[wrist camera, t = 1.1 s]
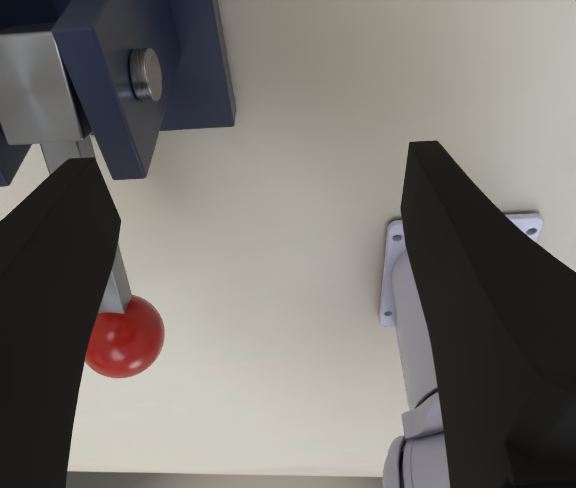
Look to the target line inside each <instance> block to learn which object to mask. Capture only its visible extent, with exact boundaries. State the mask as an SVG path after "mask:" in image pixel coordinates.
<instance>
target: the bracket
mask: <svg viewBox="0 0 576 488" xmlns="http://www.w3.org/2000/svg"><path fill="white" fill-rule="evenodd" d="M49 22H56V23H55V25H54V26H53V28H52V29H51V33H52V35H53V38H54V40H55V43H56V45H57V47H58V50H59V52H60V55H61V57H62V59H63V62H64V64H65V66H66V69H67V71H68V74H69V76H70V78H71V81H72V83H73V86H74V88H75V90H76V93H77V95H78V98H79V100H80V102H81V105H82V107H83V109H84V112H85V114H86V117H87V119H88V121H89V124H90V126H91V129H92V131H93V133H92V134H91V135H94V136H95V138H96V140H97V143H98V145H99V148H100V150H101V152H102V155H103V157H104V160H105V162H106V164H107V167H108V169H109V171H110V174H111V176H112V179H113V180H126V179H143V178H146V176H147V173H148V169H149V166H150V162H151V159H152V155H153V152H154V148H155V145H156V141H157V138H158V134H159V131H168V130H184V129H201V128H217V127H232V126H234V124H235V116H236V107H235V101H234V95H233V89H232V83H231V78H230V72H229V66H228V60H227V54H226V48H225V42H224V36H223V30H222V24H221V19H220V13H219V7H218V1H217V0H0V29H3V28H7V27H10V26H14V25H22V24H36V23H49ZM31 145H32V144H24V145H8V144H7V143H6V141H5V138H4V135H3V132H2V129H1V126H0V187H4V186H9V185H10V183H11V182H12V180H13V178H14V176H15V174H16V173H17V171H18V169H19V167H20V165H21V163H22V162H23V160H24V158H25V156H26V154H27V153H28V151H29V149H30V147H31Z"/></svg>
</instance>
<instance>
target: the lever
mask: <svg viewBox="0 0 576 488" xmlns="http://www.w3.org/2000/svg"><path fill="white" fill-rule="evenodd" d="M55 23H56V22H49V23H36V24H22V25H14V26H10V27H7V28H3V29H0V126H1V129H2V132H3V135H4V138H5V141H6V143H7V144H8V145H24V144H40V146H41V149H42V152H43V155H44V158H45V162H46V165H47V168H48V171H49V174H50V175H51V174H52V173H53V172H54V171H55V170H56V169H57V168H58V167H59V166H61V165H62V164H63V163H64V162H65V161H66V160H68V159H69V158H88V157H95V154H94V150H93V146H92V142H91V139H90V135H91V134H92V133H93V131H92V129H91V126H90V124H89V121H88V119H87V117H86V114H85V112H84V109H83V107H82V105H81V102H80V100H79V98H78V95H77V93H76V90H75V88H74V86H73V83H72V81H71V78H70V76H69V74H68V71H67V69H66V66H65V64H64V62H63V59H62V57H61V55H60V52H59V50H58V47H57V45H56V43H55V40H54V38H53V35H52V33H51V29H52V28H53V26H54V25H55ZM95 159H96V157H95ZM96 162H97V161H96ZM163 343H164V325H163V321H162V319H161V316H160V314H159V313H158V311H157V310H156V309H155V308H154V306H153V305H152V304H150V303H149V302H148V301H146V300H145V299H143V298H141V297H138V296H135V295H132V294H131V290H130V286H129V283H128V279H127V275H126V271H125V267H124V264H123V260H122V256H121V252H120V248H119V245H117V251H116V256H115V260H114V264H113V267H112V270H111V274H110V277H109V280H108V283H107V287H106V290H105V293H104V296H103V299H102V302H101V305H100V308H99V312H98V315H97V318H96V321H95V324H94V327H93V330H92V334H91V337H90V341H89V344H88V348H87V352H86V356H85V362H86V363H87V365H88V366H89V367H90V368H91V369H93V370H94V371H96V372H97V373H99V374H101V375H104V376H107V377H111V378H126V377H131V376H134V375H136V374H139V373H141V372H142V371H144V370H145V369H147V368H148V367H149V366H150V365H151V364H152V363H153V362H154V361H155V360H156V358H157V357H158V355H159V354H160V352H161V349H162V347H163Z"/></svg>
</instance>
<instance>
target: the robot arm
mask: <svg viewBox="0 0 576 488" xmlns="http://www.w3.org/2000/svg"><path fill="white" fill-rule="evenodd" d="M401 216H402V220H396V221H393V222H391V223H390V224H389V225H388V228H387V238H386V249H385V259H384V269H383V280H382V290H381V300H380V310H379V323H380V325H382V326H396V333H397V339H398V345H399V351H400V357H401V363H402V369H403V375H404V381H405V388H406V394H407V400H408V404H409V408H410V410H411V411H408V412H405V413H403V414H402V421H403V428H404V436H399V437H397V438H396V439H394V441H393V442H392V443H391V446H390V448H389V451H388V455H387V458H386V460H385V464H384V469H383V488H576V272H575V271H573V270H572V269H570V268H569V267H567V266H566V265H565V264H563V263H562V262H560V261H559V260H558V259H556V258H555V257H554V256H552V255H551V254H550V253H549V252H547V251H546V250H545V249H543V248H542V247H541V246H540V245H538V244H537V243H536V241H537V239H538V236H539V234H540V232H541V229H542V227H543V224H544V220H543V218H542V216H541V215H540V214H537V213H530V214H510V215H504V214H503V213H502V212H501V211H500V210H499V209H498V208H497V207H496V206H495V205H494V204H493V203H492V202H491V201H490V200H489V199H488V198H487V197H486V195H485V194H484V193H483V192H482V191H481V190H480V189H479V188H478V187H477V186H476V185H475V184H474V183H473V182H472V180H471V179H470V178H469V177H468V176H467V175H466V174H465V172H464V171H463V170H462V169H461V168H460V167H459V165H458V164H457V163H456V162H455V161H454V160H453V158H452V157H451V156H450V155H449V154H448V152H447V151H446V150H445V149H444V148H443V146H442V145H441V144H440V143H439V142H438V141H418V142H409V149H408V157H407V164H406V172H405V179H404V186H403V194H402V201H401ZM120 225H121V219H120V217H119V214H118V212H117V209H116V207H115V205H114V202H113V200H112V198H111V195H110V193H109V190H108V188H107V186H106V183H105V181H104V178H103V176H102V174H101V171H100V169H99V167H98V164H97V162H96V159H95V157H88V158H69V159H68V160H66V161H65V162H64V163H63V164H62V165H61V166H59V167H58V168H57V169H56V170H55V171H54V172H53V173H52V174H51V175H50V176H49V177H47V178H46V179H45V180H44V181H43V182H42V183H41V184H40V185H39V186H38V187H37V188H36V189H35V190H34V191H33V192H32V193H31V194H30V195H28V196H27V197H26V198H25V199H24V200H23V201H22V202H21V203H20V204H19V205H18V206H17V207H16V208H15V209H13V210H12V211H11V212H10V213H9V214H8V215H7V216H6V217H5V218H4V219H2V220H1V221H0V488H65V487H66V477H67V468H68V460H69V453H70V445H71V437H72V430H73V423H74V417H75V411H76V405H77V399H78V393H79V387H80V382H81V377H82V372H83V367H84V362H85V356H86V352H87V348H88V344H89V341H90V337H91V334H92V330H93V327H94V324H95V321H96V318H97V315H98V312H99V308H100V305H101V302H102V299H103V296H104V293H105V290H106V287H107V283H108V280H109V277H110V274H111V270H112V267H113V264H114V260H115V256H116V251H117V245H118V239H119V232H120ZM531 228H532V229H531ZM395 235H398V236H395Z"/></svg>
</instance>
